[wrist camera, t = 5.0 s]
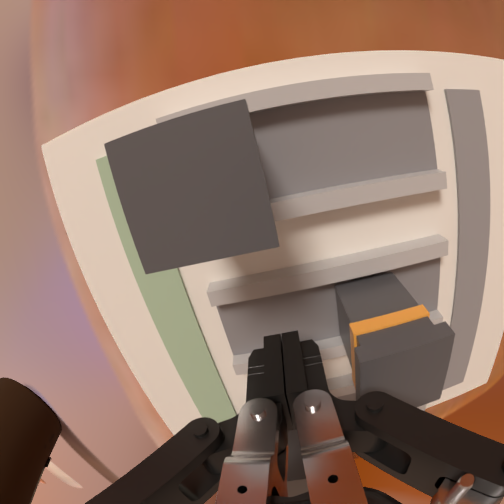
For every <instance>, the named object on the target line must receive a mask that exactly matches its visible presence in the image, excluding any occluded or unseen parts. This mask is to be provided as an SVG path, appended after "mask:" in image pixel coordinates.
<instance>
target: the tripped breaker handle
mask: <svg viewBox="0 0 504 504" xmlns="http://www.w3.org/2000/svg"><path fill="white" fill-rule="evenodd" d="M335 294H336V302H337V312H338V321H339V331H340V336H341V339H342V342H343V345H344V348H345V351H346V354H347V357H348V359H349V362H350V366H351V369H352V380H353V383H354V386H355V390H356V401H357V400H358V399H359V398H360V397H361V396H362V395H364V394H366V393H369V392H373V391H381V392H384V393H387V394H389V395H391V396H393V397H395V398H397V399H399V400H402V401H404V402H406V403H408V404H410V405H412V406H414V407H419V406H422V405H425V404H428V403H430V402H433V401H436V400H438V399H440V397H441V394H442V390H443V387H444V383H445V379H446V375H447V371H448V367H449V362H450V358H451V353H452V348H453V343H454V338H455V333H454V331H453V330H452V329H451V327H450V326H449V325H448V324H447V323H446V321H444V322H441V323H438V324H435V325H434V324H433V323H432V321H431V320H430V319H429V316H430V313H429V312H428V310H427V309H426V308H425V307H424V305H423V304H422V305H418V303H417V302H416V301H415V299H414V298H413V297H412V296H411V294H410V293H409V292H408V291H407V290H406V288H405V287H404V286H403V285H402V283H401V282H400V281H399V280H398V279H397V277H396V276H395V275H394V274H393V273H392V272H389V273H384V274H380V275H376V276H372V277H368V278H363V279H359V280H355V281H350V282H346V283H341V284H337V285H335Z"/></svg>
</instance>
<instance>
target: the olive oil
mask: <svg viewBox="0 0 504 504" xmlns="http://www.w3.org/2000/svg"><path fill="white" fill-rule="evenodd" d="M60 433H61V425H60V422H59V420H58V419H57V417H56V415H55V414H54V413H53V412H52V410H51V409H50V408H49V407H48V406H47V405H46V404H45V403H44V402H43V401H42V400H41V399H40V398H39V397H38V396H37V395H35V394H34V393H33V392H32V391H30V390H29V389H28V388H26V387H25V386H23V385H22V384H20V383H18V382H17V381H15V380H12V379H9V378H0V504H31V502H32V499H33V497H34V494H35V491H36V489H37V486H38V483H39V481H40V478H41V476H42V473H43V471H44V468H45V467H48V464H49V462H50V459H51V457H49V456H50V454H51V452H52V450H53V448H54V446H55V443H56V441H57V439H58V437H59V435H60Z"/></svg>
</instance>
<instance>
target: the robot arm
mask: <svg viewBox="0 0 504 504" xmlns="http://www.w3.org/2000/svg"><path fill="white" fill-rule="evenodd" d="M281 335H282V338H281ZM247 374H248V376H247V391H246V403H245V404H244V405H243V406H242V407H241V409H240V411H239V414H238V415H236V416H235V417H233V418H230V419H228V420H225V421H222V422H219V423H217V422H216V421H215V420H214V419H212V418H208V417H201V418H197V419H194V420H192V421H191V422H189V423H188V424H187V425H186V426H185V427H184V428H182V429H181V430H180V431H179V432H178V433H176V434H175V435H174V436H173V437H172V438H171V439H169V440H168V441H167V442H166V443H164V444H163V445H162V446H161V447H160V448H158V449H157V450H156V451H155V452H153V453H152V454H151V455H150V456H149V457H147V458H146V459H145V460H143V461H142V462H141V463H140V464H138V465H137V466H136V467H134V468H133V469H132V470H130V471H129V472H128V473H127V474H126V475H124V476H123V477H121V478H120V479H119V480H117V481H116V482H114V483H113V484H112V485H110V486H109V487H108V488H107V489H105V490H103V491H102V492H101V493H99V494H98V495H96V496H95V497H94V498H92V499H91V500H89V501H88V502H86V503H85V504H204V503H205V502H206V501H207V500H208V499H209V498H211V497H212V496H213V495H214V494H215V493H216V492H217V491H218V492H217V498H216V502H215V504H402V503H400V502H398V501H397V500H395V499H394V498H392V497H391V496H389V495H387V494H386V493H383V492H381V491H379V490H376V489H372V488H367V487H363V486H362V483H361V479H360V476H359V473H358V470H357V467H356V464H355V460H354V457H353V454H352V452H356V454H357V455H358V456H360V457H361V458H363V459H364V460H366V461H368V462H369V463H371V464H373V465H374V466H376V467H378V468H379V469H381V470H383V471H385V472H386V473H388V474H390V475H392V476H393V477H395V478H397V479H399V480H401V481H402V482H404V483H406V484H408V485H410V486H412V487H414V488H415V489H417V490H419V491H421V492H423V493H425V494H427V495H429V496H431V497H432V499H431V503H430V504H500V503H501V501H502V499H503V497H504V444H502V443H499V442H496V441H494V440H491V439H489V438H486V437H484V436H481V435H479V434H476V433H474V432H471V431H469V430H467V429H464V428H462V427H459V426H457V425H455V424H452V423H450V422H448V421H446V420H443V419H441V418H439V417H436V416H434V415H432V414H430V413H427V412H425V411H423V410H421V409H419V408H417V407H414V406H412V405H410V404H408V403H406V402H404V401H402V400H399V399H397V398H395V397H393V396H391V395H389V394H387V393H384V392H381V391H373V392H369V393H366V394H364V395H362V396H361V397H360V398H359V399H358V400H357V401H350V400H341V399H338V398H336V397H335V396H333V395H332V394H331V393H330V391H329V389H328V385H327V380H326V376H325V371H324V367H323V363H322V358H321V354H320V350H319V346H318V345H317V344H316V343H315V342H314V341H313V340H312V339H310V340H305V341H300V339H299V333H298V330H296V331H291V332H285V333H281V334H275V335H269V336H264V348H261V349H254V350H253V351H252V353H251V355H250V356H249V358H248V373H247ZM293 423H294V427H295V430H296V429H297V431H298V436H299V441H300V446H301V453H302V459H303V464H304V469H305V475H306V480H307V485H308V492H305V493H302V494H300V495H297V496H294V497H288V491H287V471H288V431H290V430H293Z"/></svg>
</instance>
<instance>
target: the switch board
mask: <svg viewBox="0 0 504 504" xmlns="http://www.w3.org/2000/svg"><path fill="white" fill-rule="evenodd" d="M41 147H42V151H43V156H44V160H45V164H46V168H47V171H48V175H49V179H50V182H51V186H52V189H53V192H54V196H55V199H56V202H57V205H58V209H59V212H60V215H61V218H62V221H63V223H64V226H65V229H66V232H67V235H68V237H69V240H70V243H71V246H72V248H73V251H74V253H75V256H76V258H77V261H78V263H79V266H80V268H81V271H82V273H83V275H84V278H85V280H86V282H87V285H88V287H89V289H90V291H91V294H92V296H93V298H94V300H95V302H96V304H97V306H98V309H99V311H100V313H101V315H102V317H103V319H104V321H105V323H106V325H107V327H108V329H109V331H110V333H111V335H112V336H113V338H114V340H115V342H116V344H117V346H118V348H119V349H120V351H121V353H122V355H123V357H124V358H125V360H126V362H127V364H128V365H129V367H130V369H131V371H132V372H133V374H134V376H135V377H136V379H137V381H138V382H139V384H140V386H141V387H142V389H143V390H144V392H145V394H146V395H147V397H148V398H149V400H150V401H151V403H152V404H153V406H154V407H155V409H156V410H157V412H158V413H159V415H160V416H161V418H162V419H163V421H164V422H165V424H166V425H167V426H168V428H169V429H170V431H171V432H172V433H173V435H175V434H176V433H178V432H179V431H180V430H181V429H182V428H184V427H185V426H186V425H187V424H188V423H189V422H191V421H192V420H194V419H197V418H201V417H208V418H212V419H214V420H215V421H216V422H217V423H219V422H222V421H225V420H228V419H230V418H233V417H235V416H236V415H238V414H239V411H240V409H241V407H242V406H243V405H244V404H245V403H246V391H247V376H248V374H247V373H248V358H249V356H250V355H251V353H252V351H253V350H254V349H261V348H264V336H269V335H275V334H281V333H285V332H291V331H296V330H298V333H299V339H300V341H305V340H310V339H312V340H313V341H314V342H315V343H316V344H317V345H318V346H319V350H320V354H321V358H322V363H323V367H324V371H325V376H326V380H327V385H328V389H329V391H330V393H331V394H332V395H333V396H335V397H336V398H338V399H341V400H350V401H356V390H355V386H354V383H353V380H352V369H351V366H350V362H349V359H348V357H347V354H346V351H345V348H344V345H343V342H342V339H341V336H340V331H339V321H338V312H337V302H336V294H335V285H337V284H341V283H346V282H350V281H355V280H359V279H363V278H368V277H372V276H376V275H380V274H384V273H389V272H392V273H393V274H394V275H395V276H396V277H397V279H398V280H399V281H400V282H401V283H402V285H403V286H404V287H405V288H406V290H407V291H408V292H409V293H410V294H411V296H412V297H413V298H414V299H415V301H416V302H417V303H418V305H422V304H423V305H424V307H425V308H426V309H427V310H428V312H429V313H430V316H429V319H430V320H431V321H432V323H433V324H434V325H435V324H438V323H441V322H444V321H446V323H447V324H448V325H449V326H450V327H451V329H452V330H453V331H454V333H455V338H454V343H453V348H452V353H451V358H450V362H449V367H448V371H447V375H446V379H445V383H444V387H443V390H442V394H441V397H440V399H438V400H436V401H433V402H430V403H428V404H425V405H422V406H419V407H417V408H419V409H421V410H423V411H425V409H426V408H428V407H431V406H434V405H436V404H439V403H441V402H444V401H446V400H449V399H451V398H454V397H456V396H459V395H461V394H463V393H465V392H468V391H470V390H472V389H474V388H476V387H479V386H481V385H483V384H485V383H487V381H488V378H489V376H490V373H491V370H492V367H493V364H494V361H495V358H496V355H497V352H498V348H499V345H500V342H501V338H502V335H503V331H504V60H502V59H497V58H491V57H484V56H477V55H469V54H460V53H449V52H435V51H408V50H389V51H361V52H346V53H335V54H325V55H316V56H308V57H301V58H294V59H288V60H282V61H276V62H271V63H265V64H260V65H256V66H251V67H246V68H242V69H237V70H233V71H229V72H225V73H221V74H217V75H214V76H210V77H206V78H203V79H199V80H196V81H192V82H189V83H186V84H183V85H179V86H176V87H173V88H170V89H167V90H164V91H161V92H159V93H156V94H153V95H150V96H148V97H145V98H142V99H140V100H137V101H134V102H132V103H129V104H127V105H124V106H122V107H120V108H117V109H115V110H112V111H110V112H108V113H106V114H103V115H101V116H99V117H97V118H94V119H92V120H90V121H88V122H86V123H84V124H82V125H80V126H78V127H76V128H74V129H72V130H70V131H68V132H66V133H64V134H62V135H60V136H58V137H56V138H55V139H53V140H51V141H49V142H47V143H45V144H44V145H42V146H41ZM281 338H282V335H281ZM287 491H288V497H294V496H297V495H300V494H302V493H305V492H308V485H307V480H306V475H305V469H304V464H303V459H302V453H301V446H300V441H299V436H298V431H297V429H296V430H295V427H294V423H293V430H290V431H288V471H287Z"/></svg>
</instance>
